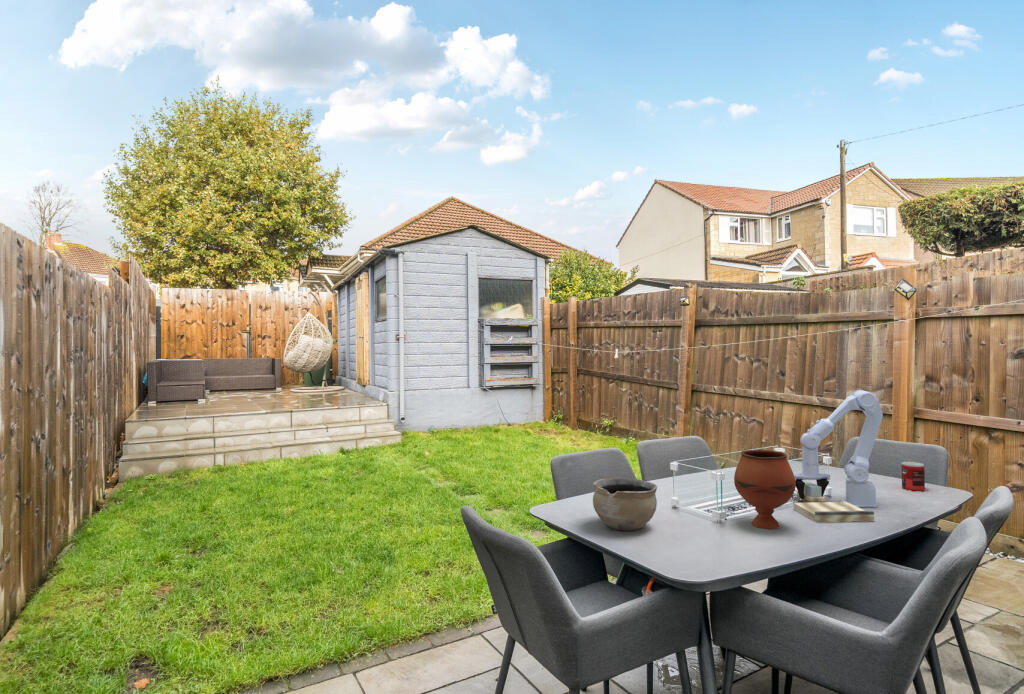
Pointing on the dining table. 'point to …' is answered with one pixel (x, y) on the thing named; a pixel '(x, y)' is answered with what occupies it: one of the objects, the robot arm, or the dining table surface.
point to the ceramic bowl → (624, 502)
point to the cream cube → (807, 484)
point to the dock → (833, 512)
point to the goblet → (764, 483)
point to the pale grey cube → (813, 491)
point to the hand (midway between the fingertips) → (810, 498)
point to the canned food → (913, 476)
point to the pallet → (811, 499)
